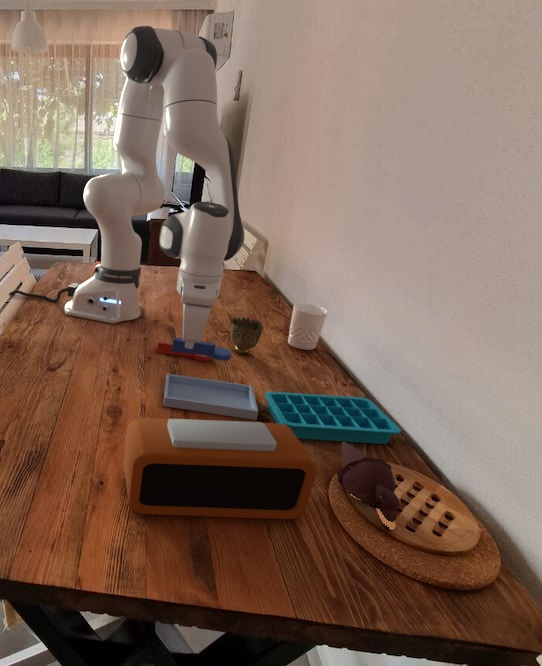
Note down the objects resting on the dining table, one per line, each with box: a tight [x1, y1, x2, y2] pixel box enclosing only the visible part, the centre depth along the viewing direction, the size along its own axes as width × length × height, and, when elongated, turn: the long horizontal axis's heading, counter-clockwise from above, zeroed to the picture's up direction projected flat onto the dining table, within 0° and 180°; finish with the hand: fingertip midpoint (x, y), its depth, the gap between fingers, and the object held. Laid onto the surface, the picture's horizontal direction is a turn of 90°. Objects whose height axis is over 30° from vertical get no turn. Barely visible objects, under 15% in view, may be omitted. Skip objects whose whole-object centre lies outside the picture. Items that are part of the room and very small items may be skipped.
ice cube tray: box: [264, 391, 402, 445], centre depth 84 cm, size 12×20×3 cm, turn 87°
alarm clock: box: [123, 417, 318, 520], centre depth 63 cm, size 24×8×11 cm, turn 90°
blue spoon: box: [172, 337, 232, 362], centre depth 100 cm, size 13×4×3 cm, turn 77°
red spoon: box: [156, 340, 212, 362], centre depth 109 cm, size 13×4×3 cm, turn 78°
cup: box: [230, 317, 265, 355], centre depth 111 cm, size 8×7×8 cm
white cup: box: [287, 303, 329, 351], centre depth 117 cm, size 8×8×10 cm
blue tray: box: [162, 373, 259, 421], centre depth 90 cm, size 17×10×2 cm, turn 78°
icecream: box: [336, 441, 401, 532], centre depth 66 cm, size 7×7×15 cm
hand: (188, 344), depth 100 cm, fingers closed on blue spoon
